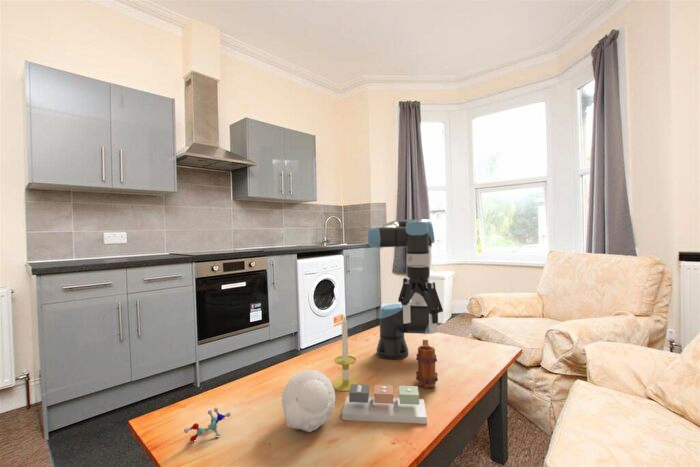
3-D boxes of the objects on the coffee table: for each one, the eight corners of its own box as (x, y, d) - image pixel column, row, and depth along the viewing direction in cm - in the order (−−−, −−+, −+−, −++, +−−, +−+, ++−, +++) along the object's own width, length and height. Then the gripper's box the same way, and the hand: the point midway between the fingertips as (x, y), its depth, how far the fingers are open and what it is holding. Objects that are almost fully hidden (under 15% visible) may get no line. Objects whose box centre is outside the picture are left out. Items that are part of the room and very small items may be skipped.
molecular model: (197, 412, 103) (208, 390, 100) (224, 425, 104) (236, 404, 101) (175, 446, 92) (187, 422, 89) (207, 460, 93) (219, 437, 90)
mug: (438, 391, 120) (437, 350, 120) (416, 390, 122) (415, 349, 122) (436, 374, 135) (435, 337, 135) (416, 373, 136) (415, 337, 136)
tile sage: (399, 394, 110) (399, 385, 110) (417, 395, 109) (417, 385, 109) (399, 404, 104) (399, 393, 104) (419, 404, 103) (419, 394, 103)
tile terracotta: (375, 393, 111) (374, 384, 111) (393, 394, 110) (393, 385, 110) (374, 403, 105) (374, 393, 105) (393, 403, 104) (393, 393, 104)
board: (346, 402, 114) (346, 392, 114) (423, 405, 111) (423, 395, 111) (342, 419, 103) (342, 409, 103) (427, 423, 100) (426, 413, 100)
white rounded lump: (326, 403, 114) (325, 357, 114) (354, 428, 99) (353, 374, 99) (270, 422, 103) (268, 371, 103) (292, 453, 88) (290, 393, 88)
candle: (346, 377, 134) (344, 310, 134) (364, 385, 127) (362, 314, 127) (327, 385, 127) (325, 315, 127) (345, 394, 120) (343, 320, 120)
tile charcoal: (351, 393, 112) (351, 383, 112) (369, 393, 111) (369, 384, 111) (349, 402, 106) (349, 392, 106) (368, 402, 105) (367, 392, 105)
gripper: (387, 263, 122) (389, 320, 123) (435, 270, 100) (437, 339, 101) (404, 262, 126) (405, 317, 126) (453, 268, 104) (454, 335, 104)
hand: (419, 327), depth 113 cm, fingers open, 13 cm apart
